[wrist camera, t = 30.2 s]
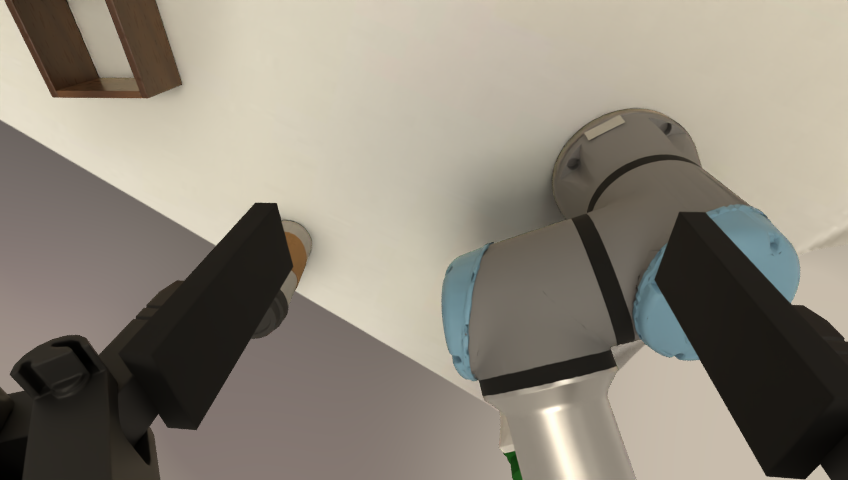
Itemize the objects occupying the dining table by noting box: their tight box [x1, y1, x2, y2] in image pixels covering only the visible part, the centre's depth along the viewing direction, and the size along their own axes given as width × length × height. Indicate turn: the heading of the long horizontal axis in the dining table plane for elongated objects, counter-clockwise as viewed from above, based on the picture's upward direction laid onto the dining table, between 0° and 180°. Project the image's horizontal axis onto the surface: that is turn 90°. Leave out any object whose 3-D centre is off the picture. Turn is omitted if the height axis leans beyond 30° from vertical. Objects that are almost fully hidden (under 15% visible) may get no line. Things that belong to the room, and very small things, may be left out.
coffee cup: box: [251, 221, 312, 339], centre depth 50 cm, size 8×8×15 cm
